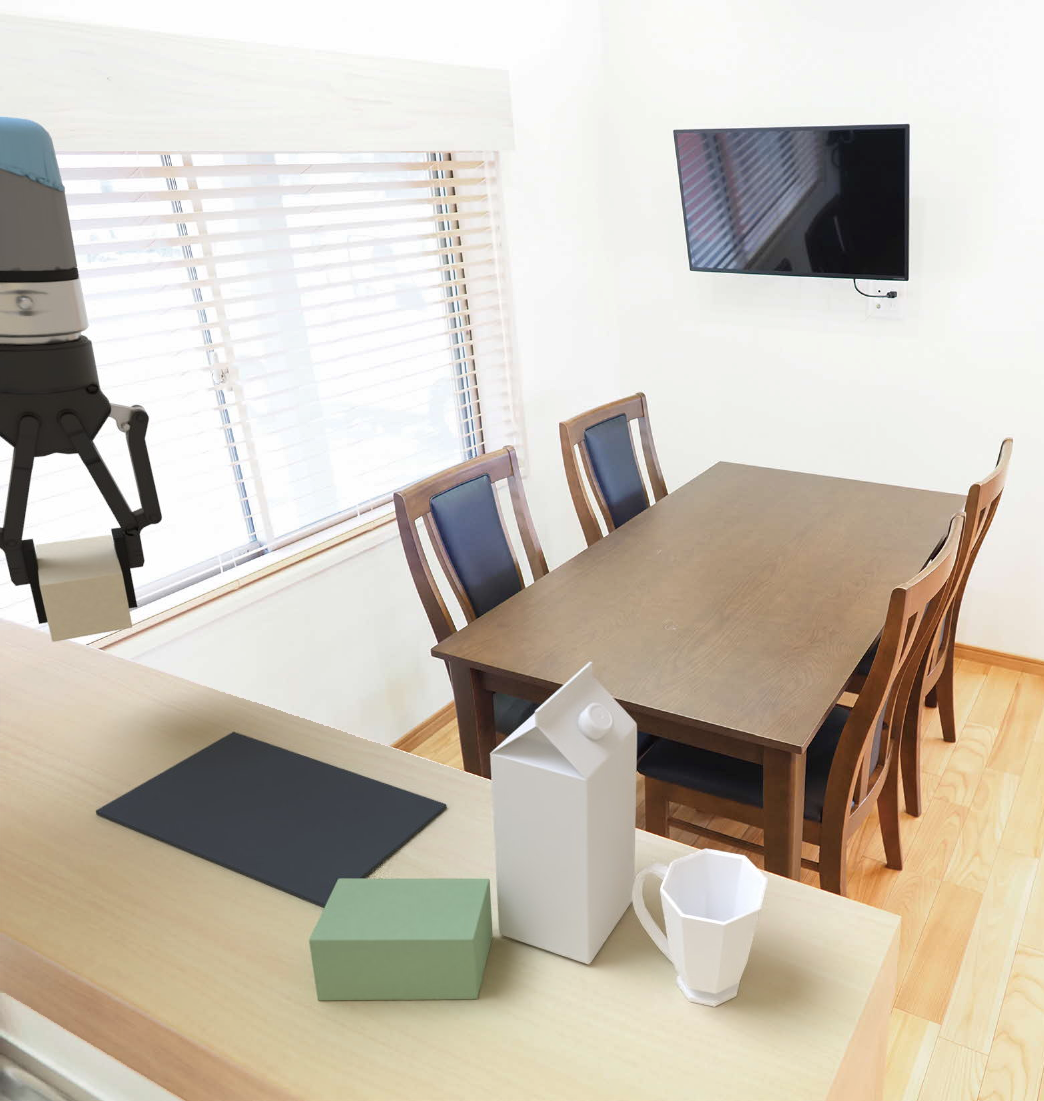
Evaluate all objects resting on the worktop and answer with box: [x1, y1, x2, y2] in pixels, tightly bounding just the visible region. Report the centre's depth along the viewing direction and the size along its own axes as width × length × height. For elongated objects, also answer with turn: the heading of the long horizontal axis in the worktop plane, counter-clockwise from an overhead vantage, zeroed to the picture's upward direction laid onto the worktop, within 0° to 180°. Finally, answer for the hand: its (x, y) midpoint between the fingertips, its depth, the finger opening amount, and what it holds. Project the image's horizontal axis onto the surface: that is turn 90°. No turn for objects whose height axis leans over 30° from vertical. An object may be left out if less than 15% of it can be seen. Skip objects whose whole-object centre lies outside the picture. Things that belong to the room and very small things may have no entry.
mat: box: [95, 731, 448, 909], centre depth 76 cm, size 24×13×1 cm, turn 67°
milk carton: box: [489, 661, 638, 965], centre depth 63 cm, size 7×7×19 cm
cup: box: [631, 848, 769, 1008], centre depth 62 cm, size 7×10×8 cm
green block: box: [308, 878, 494, 1001], centre depth 61 cm, size 10×6×5 cm, turn 93°
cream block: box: [35, 534, 133, 643], centre depth 79 cm, size 10×6×5 cm, turn 36°
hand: (88, 609), depth 80 cm, fingers closed on cream block, 5 cm apart
